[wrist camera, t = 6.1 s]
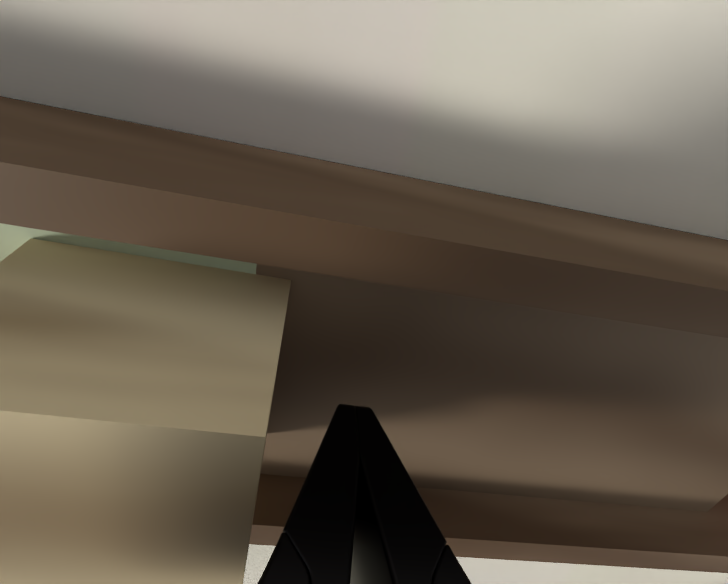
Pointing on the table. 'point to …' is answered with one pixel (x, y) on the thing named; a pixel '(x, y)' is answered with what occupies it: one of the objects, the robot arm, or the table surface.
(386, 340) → the trap channel
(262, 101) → the table surface
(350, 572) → the robot arm
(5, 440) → the maple block
